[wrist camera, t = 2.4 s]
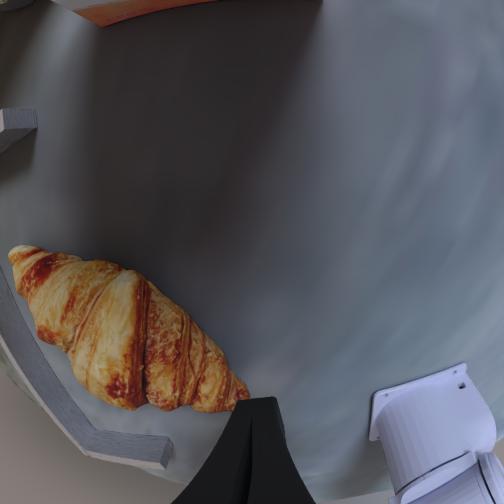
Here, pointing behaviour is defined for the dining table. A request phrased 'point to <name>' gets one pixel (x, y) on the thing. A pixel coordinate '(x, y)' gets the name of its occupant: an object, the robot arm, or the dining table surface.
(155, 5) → the cracker box
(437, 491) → the robot arm
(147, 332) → the croissant
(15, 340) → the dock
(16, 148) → the dining table surface
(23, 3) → the liquor
